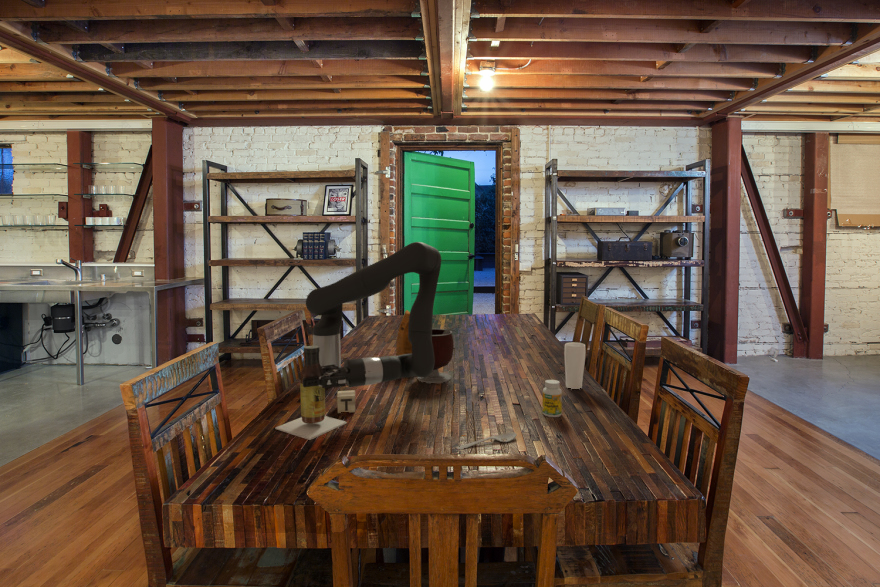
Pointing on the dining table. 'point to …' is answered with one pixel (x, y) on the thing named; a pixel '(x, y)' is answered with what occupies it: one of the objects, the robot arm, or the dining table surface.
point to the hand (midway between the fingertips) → (301, 379)
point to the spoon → (504, 436)
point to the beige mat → (310, 427)
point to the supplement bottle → (552, 399)
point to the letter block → (346, 401)
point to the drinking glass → (574, 364)
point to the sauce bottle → (312, 388)
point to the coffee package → (403, 337)
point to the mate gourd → (440, 355)
